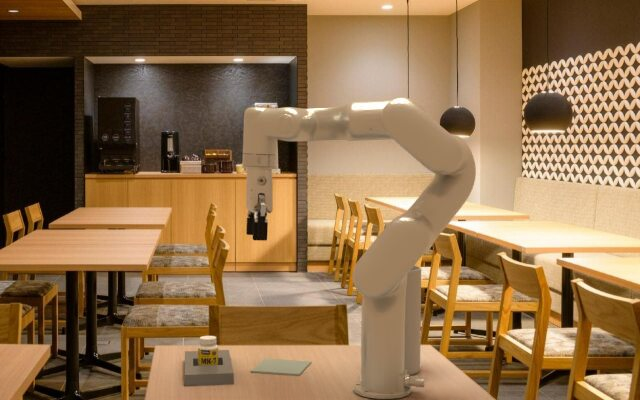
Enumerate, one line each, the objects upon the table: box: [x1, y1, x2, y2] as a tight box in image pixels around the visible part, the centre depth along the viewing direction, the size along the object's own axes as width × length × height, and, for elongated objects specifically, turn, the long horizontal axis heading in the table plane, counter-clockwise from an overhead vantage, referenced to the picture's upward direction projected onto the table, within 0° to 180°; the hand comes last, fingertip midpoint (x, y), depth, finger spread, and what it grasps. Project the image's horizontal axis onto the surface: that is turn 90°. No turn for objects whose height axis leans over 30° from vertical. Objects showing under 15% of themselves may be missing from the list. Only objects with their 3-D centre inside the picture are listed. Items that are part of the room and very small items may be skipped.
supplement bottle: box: [197, 335, 219, 366], centre depth 202 cm, size 5×5×8 cm
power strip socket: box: [184, 349, 235, 387], centre depth 202 cm, size 22×11×3 cm, turn 9°
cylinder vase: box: [404, 265, 422, 376], centre depth 203 cm, size 12×12×25 cm
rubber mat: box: [250, 358, 312, 377], centre depth 206 cm, size 12×12×1 cm
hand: (256, 237), depth 193 cm, fingers open, 9 cm apart
